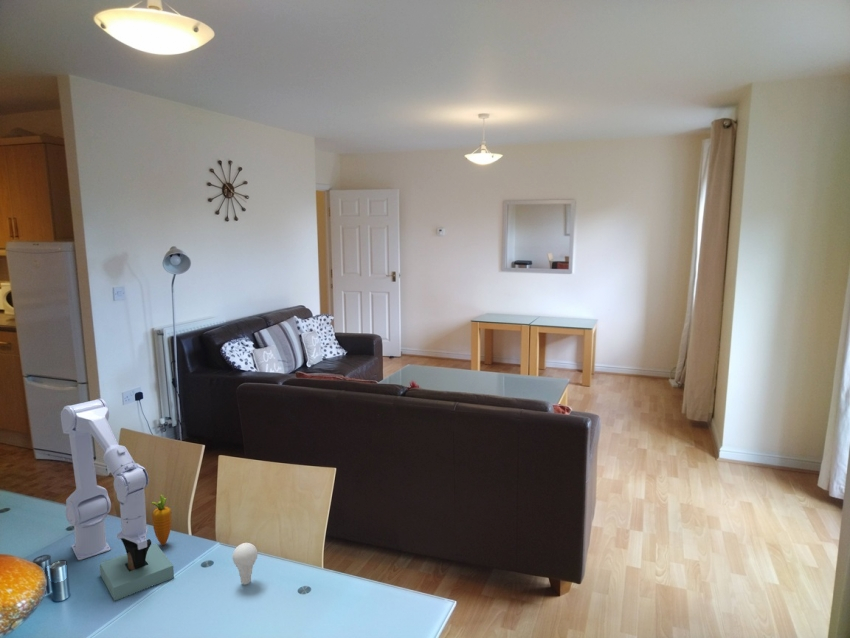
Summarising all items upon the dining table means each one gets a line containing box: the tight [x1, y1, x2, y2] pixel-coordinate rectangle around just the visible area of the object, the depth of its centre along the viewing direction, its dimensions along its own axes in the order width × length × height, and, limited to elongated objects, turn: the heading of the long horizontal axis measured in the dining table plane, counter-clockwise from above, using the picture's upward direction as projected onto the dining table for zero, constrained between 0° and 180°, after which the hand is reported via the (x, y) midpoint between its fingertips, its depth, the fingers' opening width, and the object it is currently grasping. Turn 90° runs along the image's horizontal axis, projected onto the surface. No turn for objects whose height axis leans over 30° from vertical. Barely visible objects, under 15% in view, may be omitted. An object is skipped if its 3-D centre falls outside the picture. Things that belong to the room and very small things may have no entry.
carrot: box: [151, 494, 172, 547], centre depth 156 cm, size 5×5×15 cm
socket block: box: [99, 543, 175, 602], centre depth 142 cm, size 14×14×4 cm
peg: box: [126, 552, 135, 572], centre depth 142 cm, size 3×3×7 cm
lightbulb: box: [232, 542, 258, 585], centre depth 139 cm, size 6×6×11 cm
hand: (136, 562), depth 142 cm, fingers open, 5 cm apart
